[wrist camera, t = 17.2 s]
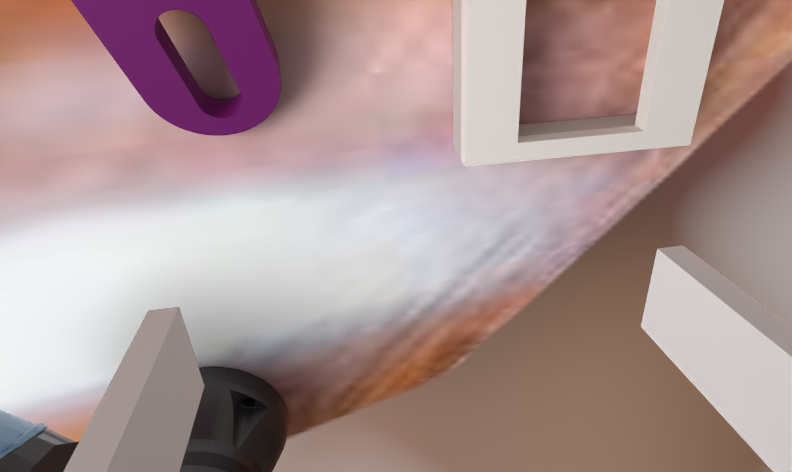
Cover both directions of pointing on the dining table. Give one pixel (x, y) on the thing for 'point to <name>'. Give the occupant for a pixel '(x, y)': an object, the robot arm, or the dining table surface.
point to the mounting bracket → (168, 74)
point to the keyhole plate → (510, 142)
